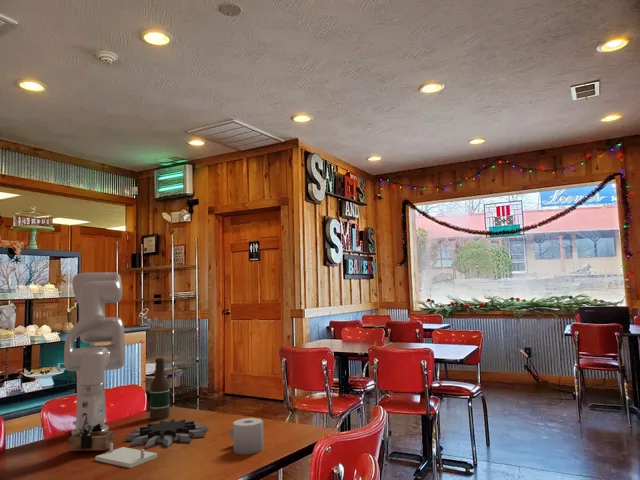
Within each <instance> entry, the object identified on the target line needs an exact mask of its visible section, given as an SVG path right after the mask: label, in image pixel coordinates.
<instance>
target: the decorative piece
mask: <svg viewBox="0 0 640 480" xmlns="http://www.w3.org/2000/svg"><path fill="white" fill-rule="evenodd" d="M186 420H187V419H186V418H185V419H181V420H178V421H175V419H174V418H173V419H170V421H164V420H159V422H158V423H155V422H154V423H147V424H146V425H147V426H140V427H139V428H137V429H133V430H132V431H130V432H129V434H128V435H126V436H125V437H123V440H124V441H126V442H129V443H128V445H129V446H131V447H136V446H140V445H144V444H145V446H144V448H146V449H149V448H153V447H154V446H155V447H156V445H158V444H163V446H165V447H167V448H169V447H170V446H171V445H172V444H173V443H176V442H180V443H183V444H184V443H187V444H189V443H191V442H192V441H193V440H192V439H199V438H204V437H205V436H207V435H208V434H207V433H206V432H208V431H209V430H210V429H211V428H210V427H208V426H205V425H203V424H202V423H200V422H198V421H197V422H195V421H193V420H192V421H186Z"/></svg>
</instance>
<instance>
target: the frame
mask: <svg viewBox="0 0 640 480" xmlns="http://www.w3.org/2000/svg"><path fill="white" fill-rule="evenodd" d="M80 434H81V433H80V432H77V433H75V434H74V435H72V434H71V436H69V437H68V439H67V440H68V442H67V443H68V447H67V448H68V449H67V451H69V452H72V451H76V452H77V451H106V450H108V449H110V443H113V445H114V443H115V431H114V430H108V431H91V435H92V447H91V448H90V449H81V436H80Z"/></svg>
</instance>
